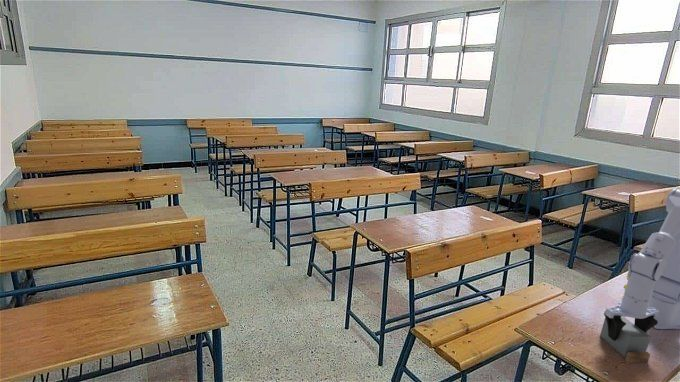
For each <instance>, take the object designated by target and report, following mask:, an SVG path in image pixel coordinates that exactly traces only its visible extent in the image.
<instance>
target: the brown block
mask: <svg viewBox="0 0 680 382" xmlns="http://www.w3.org/2000/svg"><path fill="white" fill-rule="evenodd" d="M650 358H651V353H649V352H648V351H646V352H627V354H626V357H624V361H625V362H626V363H627V364H628V363H633V364H634V363H649V360H650Z"/></svg>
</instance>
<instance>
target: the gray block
mask: <svg viewBox="0 0 680 382" xmlns="http://www.w3.org/2000/svg"><path fill="white" fill-rule="evenodd" d="M621 318H622V321H623V322H625V323H626V325H625V326H624V327H623V328H622V329H621V331H620V333H619V336H618V338H617V340H616V341H614V340H612V339H611V338H610V337H609V336H608V325H607V321H606V318H605V317H604V320H603V323H602V327H601V330H600V335H599V336H600V338H602V339H603V340H604V341H605V342H606V343H608V345H609V346H610V347H612V348H614V349H615V350H616V351H617V352H618V353H619V354H620V355H621V356H622V357H624V358H626V354H627V352H647V350H648V347H649V343H650V341H651V336H652V335H651V336H650V335H649V334H648V333H647V332H646V333H645V332H644V331H642V330H641V329H640V328H638V327H637V326H636V325H634V323H633V322H631V321H630V320H629V319H627V318H626V317H621Z"/></svg>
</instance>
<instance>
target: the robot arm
mask: <svg viewBox="0 0 680 382" xmlns="http://www.w3.org/2000/svg"><path fill="white" fill-rule="evenodd" d="M665 207H666V209H665V211H666V212H667V215H666V217H665V219H664V220H663V223H662V225H661V226H660V228H659V231H658V232H653V233H651V234H650V236H649V237H648V239H647V240H646V242H645V243H644V245H643V246H642V247H641V249H640V251H639V252H638V253H637V252H635V253H633V255H632V256H631V258H630V260H629V262H628V267H627V270H628V271H627V275H626V278H627V277H628V278H629V279H628V280H627V283H626V284H627V285H626V284H625V285H626V289H625V288H624V292H623V296H622V299H621V301H619V302H618V304H617V305H615V306H612V307H606V309H605V311H604V313H603V315H604V319H605V318H606V321H607V325H608V336H609V337H610V338H611V339H612V340H614V341H616V340H617V338H618V336H619V333H620V331H621V329H622V328H623V327H624V326H625V325H626V323H625V322H623V321H622V318H621V317H625V318H626V317H628V318H632V319H634V323H633V324H634V325H636V326H637V327H638V328H640V329H641V330H642V331H644V332H645V333H647V332H649V330H651V329H652V328H655V329H656V330H679V329H680V189H679V188H677V187H675V188H673V189H671V190H670V191H669V192H668V194H667V196H666V199H665Z"/></svg>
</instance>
